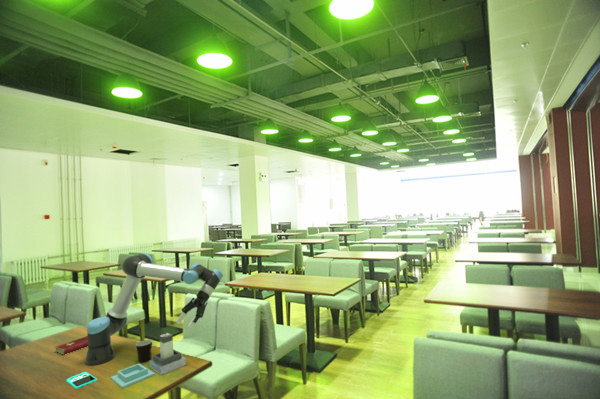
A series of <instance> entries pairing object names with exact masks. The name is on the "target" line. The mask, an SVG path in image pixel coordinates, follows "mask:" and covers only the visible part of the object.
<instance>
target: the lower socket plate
mask: <svg viewBox="0 0 600 399" xmlns="http://www.w3.org/2000/svg"><path fill="white" fill-rule="evenodd" d="M154 376H156V372H155V371H153V370H152V369H150V368H147V366H145V365H143V364H142V363H136V364H134V365H131V366H128V367H126V368H122V369H120V370H117V374H115V375H112V376H110V380H111V381H112V382H114V383H115V384H116V385H117V386H119V387H120V388H121V389H125V388H127V387H130V386H131V385H134V384H137V383H139V382H143V381H144V380H147V379H149V378H152V377H154Z"/></svg>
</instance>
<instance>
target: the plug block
mask: <svg viewBox="0 0 600 399" xmlns="http://www.w3.org/2000/svg"><path fill="white" fill-rule="evenodd" d="M173 349H174V339H173V334H172V333H169V332H167V333H164V334H161V335H159V350H160V352H159V353H160V354H161V359H166V358H168V357H171V356H173V355H174V353H173Z"/></svg>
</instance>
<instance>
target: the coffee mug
mask: <svg viewBox="0 0 600 399" xmlns="http://www.w3.org/2000/svg"><path fill="white" fill-rule="evenodd" d="M152 345H153V340H151V339H145V340H141V341H138V342H136V343H135V347H136V354H137V359H138V362H139V364H143V363H149V360H152V350H153V349H152V347H153V346H152Z"/></svg>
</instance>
